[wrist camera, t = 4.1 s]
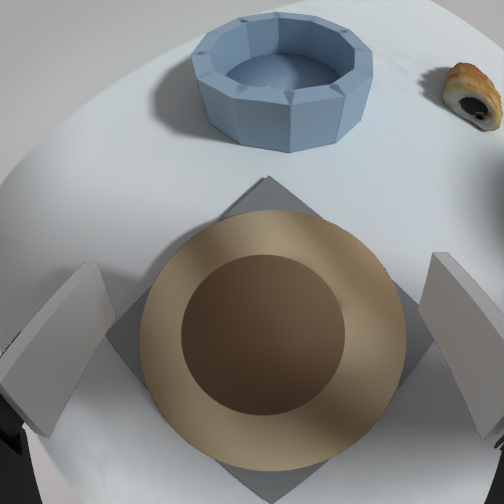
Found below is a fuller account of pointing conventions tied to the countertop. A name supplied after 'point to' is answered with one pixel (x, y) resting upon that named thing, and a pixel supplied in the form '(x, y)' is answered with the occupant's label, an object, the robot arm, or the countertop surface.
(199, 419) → the lid
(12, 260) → the countertop surface
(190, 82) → the countertop surface
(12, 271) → the countertop surface
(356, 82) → the bowl
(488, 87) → the pastry
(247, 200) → the mat
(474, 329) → the robot arm
